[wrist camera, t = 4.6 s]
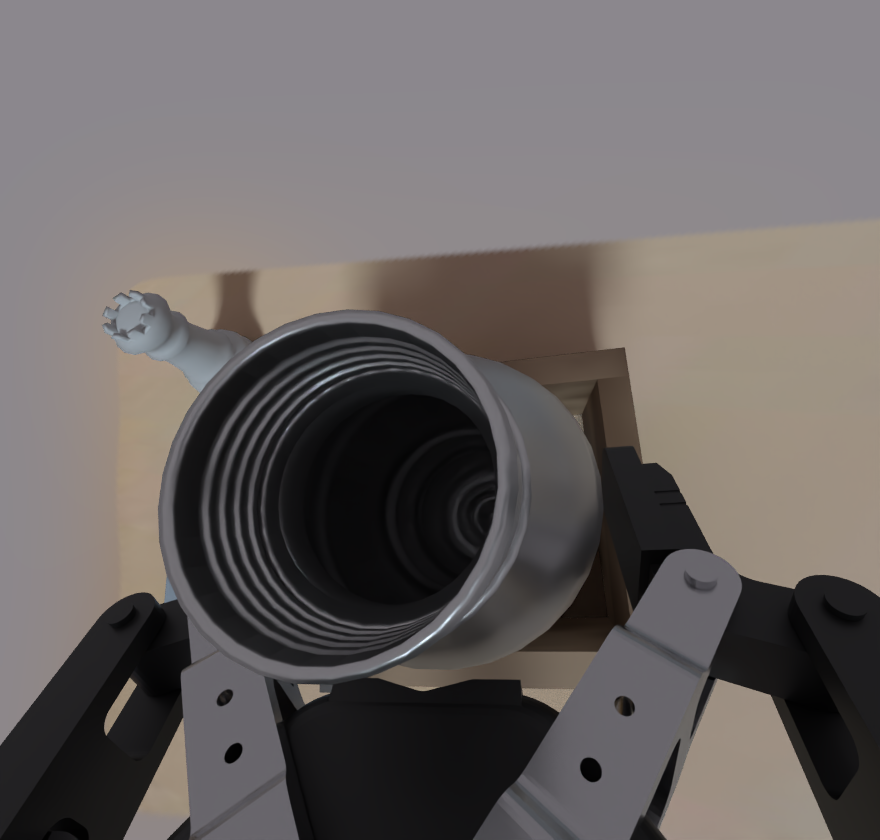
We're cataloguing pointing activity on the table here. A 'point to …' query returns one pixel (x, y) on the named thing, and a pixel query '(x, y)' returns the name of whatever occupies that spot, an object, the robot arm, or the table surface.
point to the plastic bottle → (374, 503)
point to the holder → (579, 639)
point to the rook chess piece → (170, 337)
